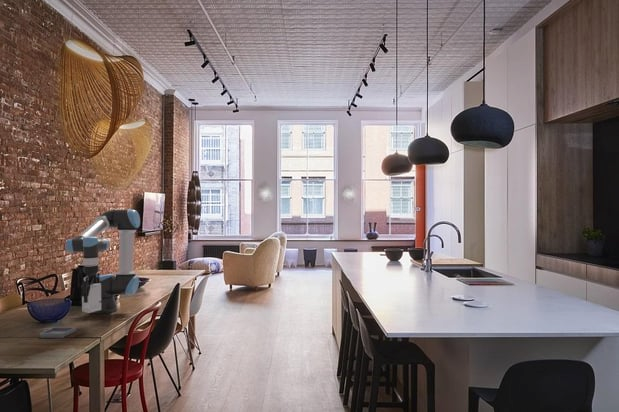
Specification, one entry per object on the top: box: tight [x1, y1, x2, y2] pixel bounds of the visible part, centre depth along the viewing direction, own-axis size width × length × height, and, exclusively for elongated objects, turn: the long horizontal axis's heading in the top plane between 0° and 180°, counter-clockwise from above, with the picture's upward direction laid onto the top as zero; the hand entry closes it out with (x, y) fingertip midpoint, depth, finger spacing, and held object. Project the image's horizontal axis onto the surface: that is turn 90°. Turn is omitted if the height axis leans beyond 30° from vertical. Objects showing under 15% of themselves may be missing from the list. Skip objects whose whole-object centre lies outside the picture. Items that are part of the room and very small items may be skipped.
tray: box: [39, 326, 77, 339], centre depth 248 cm, size 12×12×2 cm
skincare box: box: [81, 283, 101, 314], centre depth 259 cm, size 8×6×15 cm
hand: (91, 306), depth 259 cm, fingers closed on skincare box, 10 cm apart
